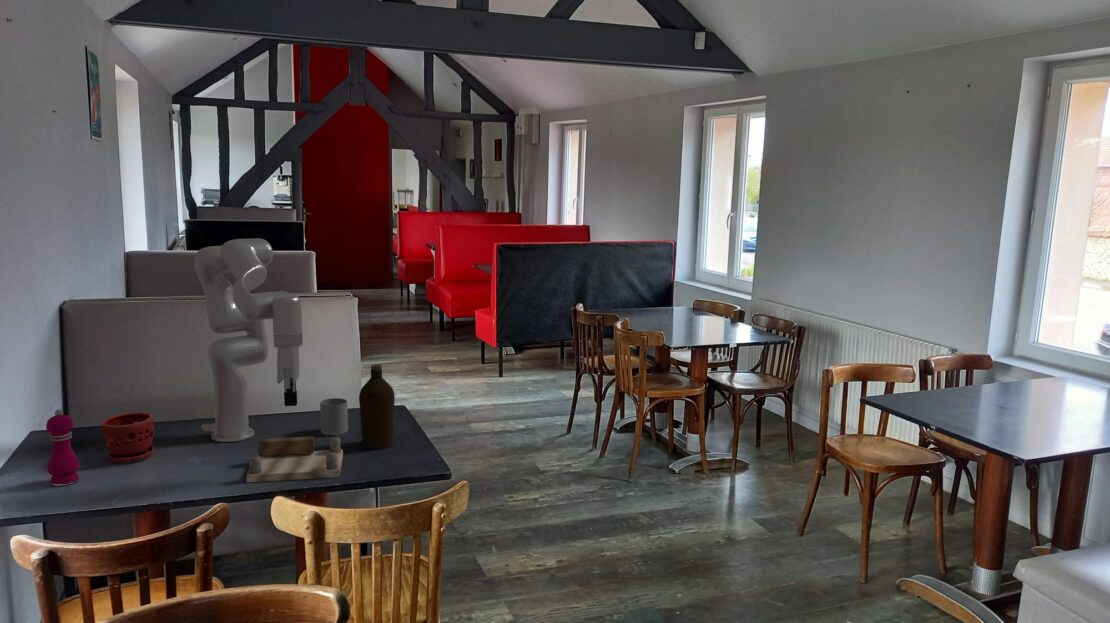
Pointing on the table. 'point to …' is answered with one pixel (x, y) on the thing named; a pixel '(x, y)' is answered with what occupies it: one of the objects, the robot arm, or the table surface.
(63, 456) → the pepper mill
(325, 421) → the cup
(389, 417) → the olive oil
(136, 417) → the plant pot
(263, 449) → the folding leg
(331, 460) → the stool seat
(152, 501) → the table surface
